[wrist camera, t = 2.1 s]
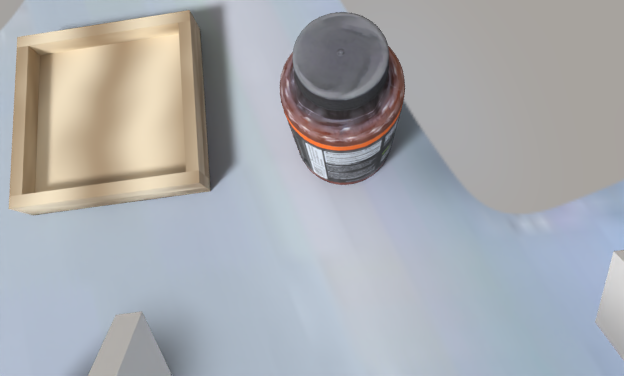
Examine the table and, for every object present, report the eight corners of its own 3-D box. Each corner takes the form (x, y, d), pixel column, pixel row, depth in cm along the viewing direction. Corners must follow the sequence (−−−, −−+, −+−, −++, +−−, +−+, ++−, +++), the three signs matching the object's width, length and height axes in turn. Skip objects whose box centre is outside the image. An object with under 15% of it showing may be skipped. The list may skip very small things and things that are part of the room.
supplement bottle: (301, 100, 30) (274, -13, 19) (391, 101, 30) (415, -14, 19) (295, 186, 29) (262, 117, 18) (389, 189, 28) (414, 121, 17)
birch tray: (200, 29, 32) (189, 10, 30) (210, 191, 29) (199, 182, 27) (39, 54, 33) (17, 37, 30) (33, 215, 30) (8, 208, 28)
